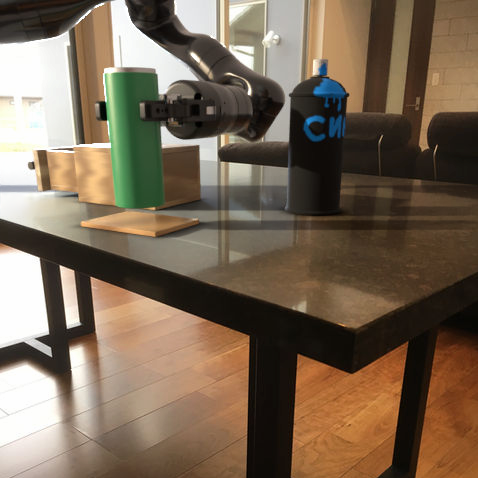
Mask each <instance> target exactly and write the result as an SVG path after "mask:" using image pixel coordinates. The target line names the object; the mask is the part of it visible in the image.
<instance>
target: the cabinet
mask: <svg viewBox="0 0 478 478" xmlns="http://www.w3.org/2000/svg"><path fill="white" fill-rule="evenodd" d="M72 146H73V150H74V159H75V168H76V177H77V186H78V192H77V194H78V195H77V196H78V201H79V202H81V203H89V204H99V205H105V206H115V207H117V206H116V205H115V194H114V184H113V173H112V163H111V152H110V142H106V143H92V144H90V143H89V144H79V145H78V144H77V145H72ZM200 147H201V145H200V144H188V143H187V144H184V143H163V142H162V158H163V175H164V193H165V204H164V205H162V206H158V207H153V208H140V209H142V210H150V211H157V210H161V209H165V208H166V209H167V208H170V207H174V206H179V205H183V204H186V203H190V202H195V201H199V200H201V199H202V191H201V190H202V188H201V187H202V186H201V153H200V152H201V151H200V150H201V149H200Z"/></svg>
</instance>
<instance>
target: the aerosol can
mask: <svg viewBox="0 0 478 478" xmlns="http://www.w3.org/2000/svg"><path fill="white" fill-rule="evenodd" d="M328 70H329V59H328V58H314V59H313V64H312V76H310V78H307V79H305V80H303V81H301V82H299V83H298V84H297V85H295V87H294V88H293V89H292V90H291V91H292V92H289V93H288V97H289V98H290V100H289V104H290V105H289V126H288V127H289V128H288V129H289V132H288V161H287V188H286V206H285V207H284V210H285V212H287V213H290V214H294V215H302V216H331V215H336V214H339V213H340V212H341V211H342V207H340V203H341V191H342V176H343V161H344V150H345V149H344V148H345V137H346V122H347V110H348V109H347V108H348V107H347V106H348V98H349V97H350V93H349V92H347V90H346V88H345V87H344V85H343V84H342V83H341V82H339V81H337V80H335V79H332V78H330V76H328V72H329V71H328Z"/></svg>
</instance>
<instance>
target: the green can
mask: <svg viewBox="0 0 478 478" xmlns="http://www.w3.org/2000/svg"><path fill="white" fill-rule="evenodd" d="M102 75H103V76H102V77H103V86H104V88H103V89H104V96H105V97H104V98H105V101H106V110H107V120H108V121H107V130H108V139H109V143H110V152H111V163H112V173H113V184H114V194H115V205H116V206H115V207H118V208H120V209H121V208H122V209H131V210H132V209H135V210H136V209H139V210H140V209H141V208H153V207H158V206H162V205H164V204H165V193H164V175H163V158H162V143H163V142H162V127H161V124H160V121H149V122H147V121H142V120H141V116H140V102H141V101H142V100H151V101H159V94H160V92H159V91H160V90H159V77H158V75H159V74H158V73H157V72H156V68H153V67H142V66H141V67H137V66H115V67H113V66H112V67H105V68H104V73H103V74H102Z"/></svg>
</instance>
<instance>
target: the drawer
mask: <svg viewBox="0 0 478 478" xmlns="http://www.w3.org/2000/svg"><path fill="white" fill-rule="evenodd" d="M73 146H74V145H72V146H61V147H60V146H58V147H45V148H32V156H33V160H31V161H28V162H27V168H28V169H29V170H31V171H35V177H36V184H37V191H38V192H48V191H61V192H69V193H71V192H72V193H78V186H77V177H76V168H75V159H74V150H73Z"/></svg>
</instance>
